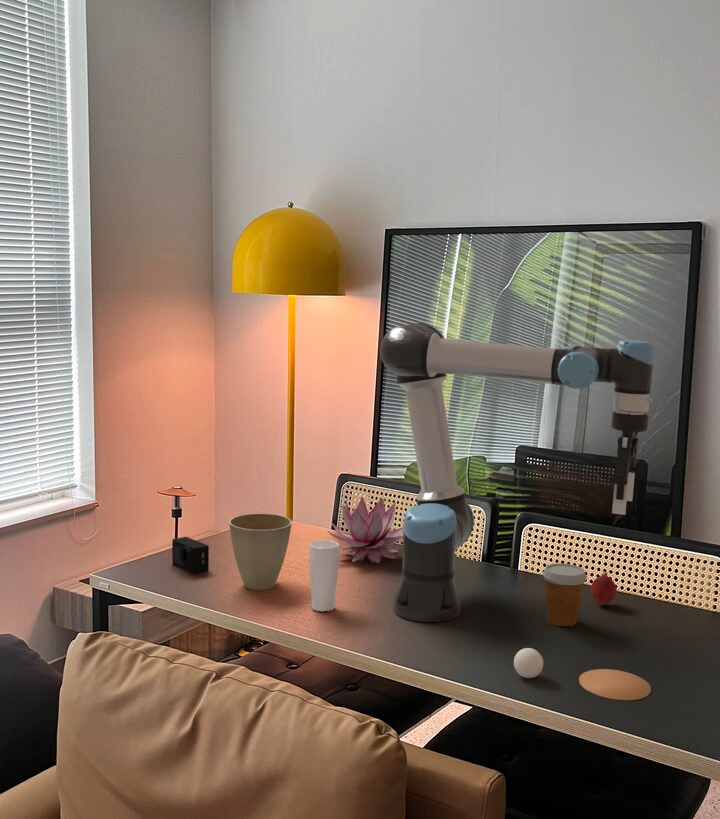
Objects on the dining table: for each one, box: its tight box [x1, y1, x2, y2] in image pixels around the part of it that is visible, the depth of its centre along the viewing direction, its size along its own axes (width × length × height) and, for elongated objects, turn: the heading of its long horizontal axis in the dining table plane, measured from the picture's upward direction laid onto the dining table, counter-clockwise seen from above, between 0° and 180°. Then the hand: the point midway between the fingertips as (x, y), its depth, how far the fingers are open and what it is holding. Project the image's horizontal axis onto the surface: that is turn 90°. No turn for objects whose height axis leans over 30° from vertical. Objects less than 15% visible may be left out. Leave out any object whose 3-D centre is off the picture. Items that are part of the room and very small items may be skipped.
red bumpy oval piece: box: [590, 571, 618, 606], centre depth 216 cm, size 6×6×8 cm
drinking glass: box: [308, 539, 341, 613], centre depth 208 cm, size 7×7×15 cm
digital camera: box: [171, 536, 210, 576], centre depth 234 cm, size 10×5×7 cm, turn 43°
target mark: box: [578, 668, 652, 701], centre depth 173 cm, size 13×13×1 cm
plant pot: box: [228, 512, 293, 591], centre depth 223 cm, size 15×15×16 cm
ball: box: [513, 647, 544, 679], centre depth 175 cm, size 6×6×6 cm
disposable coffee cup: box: [542, 563, 588, 628], centre depth 204 cm, size 10×10×12 cm
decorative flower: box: [327, 496, 403, 564], centre depth 247 cm, size 21×21×15 cm
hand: (622, 507), depth 205 cm, fingers open, 13 cm apart
